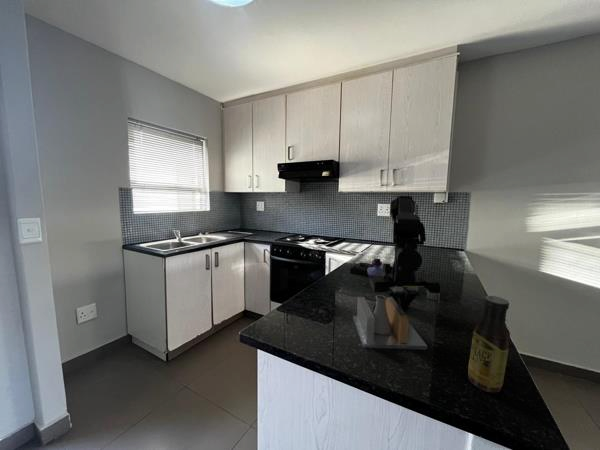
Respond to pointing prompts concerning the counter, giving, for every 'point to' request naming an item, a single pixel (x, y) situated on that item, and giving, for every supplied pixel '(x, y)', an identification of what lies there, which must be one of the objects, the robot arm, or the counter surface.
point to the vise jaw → (397, 320)
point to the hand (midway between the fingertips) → (402, 312)
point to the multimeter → (363, 269)
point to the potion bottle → (375, 269)
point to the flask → (381, 316)
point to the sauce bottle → (490, 346)
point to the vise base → (374, 340)
